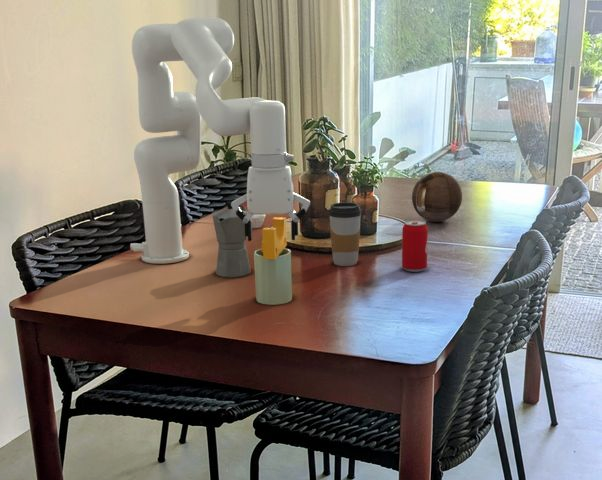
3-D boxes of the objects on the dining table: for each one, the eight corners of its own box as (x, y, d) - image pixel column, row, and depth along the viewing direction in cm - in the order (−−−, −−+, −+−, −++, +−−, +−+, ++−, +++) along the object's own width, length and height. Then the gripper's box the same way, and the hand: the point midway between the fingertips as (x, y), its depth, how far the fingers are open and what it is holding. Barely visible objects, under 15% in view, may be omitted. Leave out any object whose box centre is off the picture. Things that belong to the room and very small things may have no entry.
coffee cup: (327, 259, 226) (326, 202, 221) (359, 258, 227) (359, 201, 221) (331, 268, 219) (330, 209, 213) (363, 266, 219) (363, 208, 214)
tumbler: (254, 305, 192) (252, 257, 188) (257, 293, 200) (255, 247, 196) (291, 304, 192) (290, 256, 188) (292, 293, 200) (291, 247, 196)
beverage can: (429, 266, 217) (430, 219, 213) (424, 273, 212) (425, 225, 208) (404, 265, 219) (405, 218, 215) (399, 271, 214) (399, 224, 210)
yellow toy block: (268, 244, 198) (267, 217, 196) (286, 245, 197) (285, 217, 195) (255, 258, 187) (254, 229, 185) (274, 259, 186) (273, 230, 184)
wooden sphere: (446, 214, 273) (448, 166, 267) (470, 224, 259) (472, 173, 254) (403, 218, 268) (404, 170, 263) (424, 228, 255) (426, 177, 250)
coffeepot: (241, 281, 210) (237, 207, 203) (205, 278, 212) (200, 206, 206) (263, 264, 223) (260, 195, 217) (229, 262, 226) (225, 193, 220)
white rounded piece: (242, 228, 261) (241, 205, 258) (251, 224, 266) (249, 201, 264) (261, 229, 259) (260, 206, 256) (269, 225, 264) (268, 202, 261)
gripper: (309, 157, 188) (311, 234, 194) (230, 159, 189) (234, 235, 195) (309, 163, 181) (310, 242, 187) (227, 164, 182) (231, 244, 188)
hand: (271, 239), depth 191 cm, fingers open, 9 cm apart
